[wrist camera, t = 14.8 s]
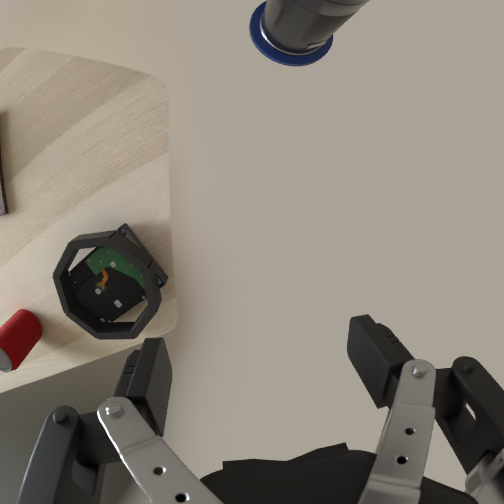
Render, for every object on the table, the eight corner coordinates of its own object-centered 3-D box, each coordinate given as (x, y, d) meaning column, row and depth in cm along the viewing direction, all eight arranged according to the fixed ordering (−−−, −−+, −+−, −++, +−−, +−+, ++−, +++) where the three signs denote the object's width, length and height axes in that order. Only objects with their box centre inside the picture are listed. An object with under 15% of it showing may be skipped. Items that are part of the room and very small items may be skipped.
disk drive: (106, 323, 44) (170, 276, 43) (100, 332, 42) (166, 284, 40) (65, 275, 41) (125, 220, 39) (57, 283, 38) (119, 225, 37)
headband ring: (54, 238, 36) (44, 244, 34) (148, 226, 37) (143, 232, 35) (80, 329, 41) (73, 339, 38) (167, 326, 42) (164, 338, 40)
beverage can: (12, 318, 42) (-20, 352, 31) (25, 300, 42) (-10, 334, 30) (35, 343, 44) (7, 381, 33) (49, 327, 44) (19, 366, 32)
